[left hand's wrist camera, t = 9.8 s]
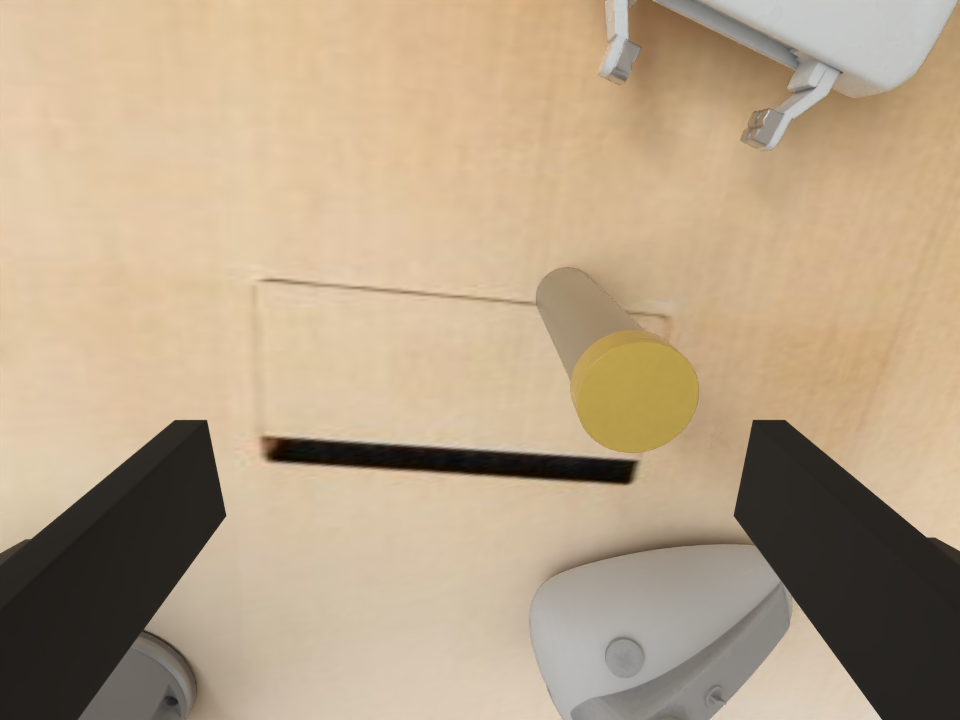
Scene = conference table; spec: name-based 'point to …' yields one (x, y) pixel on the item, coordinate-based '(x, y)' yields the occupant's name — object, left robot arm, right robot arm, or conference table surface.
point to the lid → (633, 391)
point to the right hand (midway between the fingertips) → (684, 113)
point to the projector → (657, 631)
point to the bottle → (578, 314)
